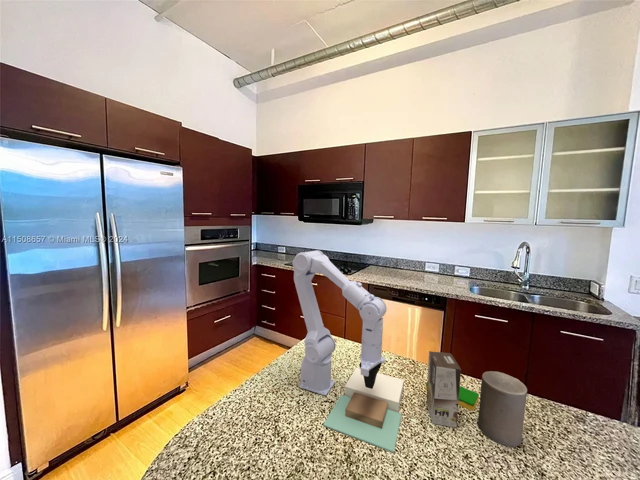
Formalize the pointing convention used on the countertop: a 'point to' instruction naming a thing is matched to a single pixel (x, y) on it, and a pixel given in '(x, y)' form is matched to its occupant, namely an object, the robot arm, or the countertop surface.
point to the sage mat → (364, 426)
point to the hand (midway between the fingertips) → (369, 386)
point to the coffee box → (443, 388)
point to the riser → (377, 388)
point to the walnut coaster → (367, 410)
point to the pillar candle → (502, 408)
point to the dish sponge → (466, 398)
